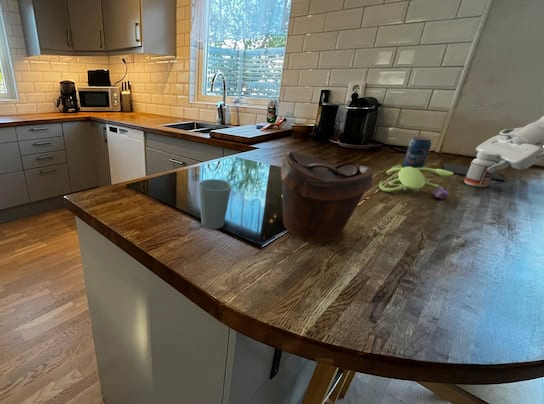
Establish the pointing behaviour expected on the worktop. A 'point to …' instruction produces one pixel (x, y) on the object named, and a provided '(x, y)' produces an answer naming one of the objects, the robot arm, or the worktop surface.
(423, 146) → the soda can
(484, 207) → the worktop surface
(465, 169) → the mat
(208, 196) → the cup
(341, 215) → the brown tapered round container
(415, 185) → the green soft sprawling figure
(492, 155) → the pill bottle
